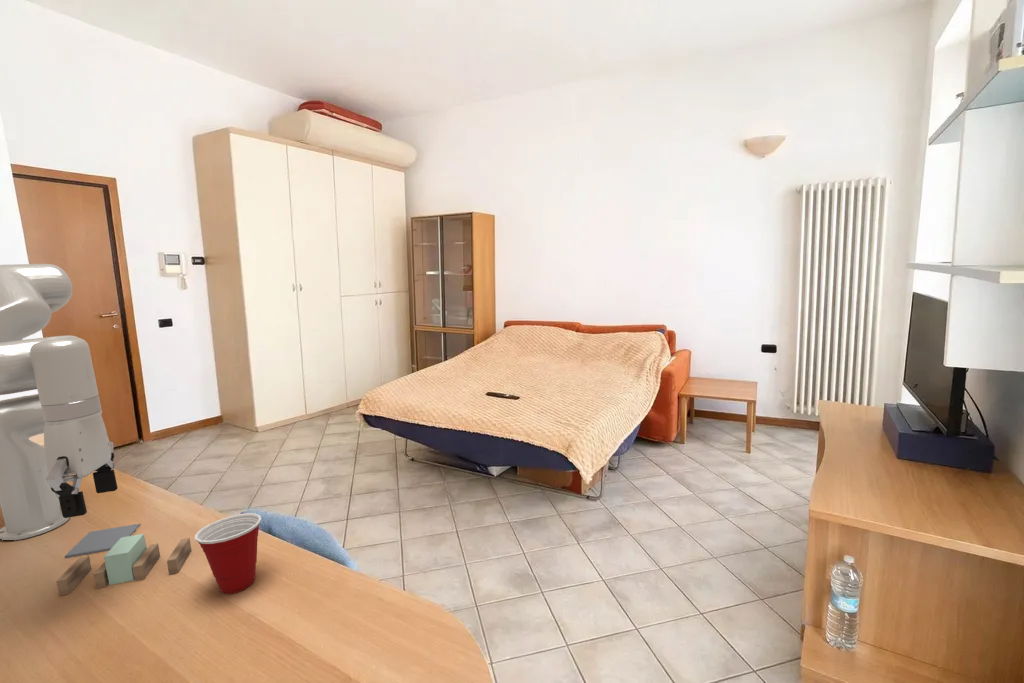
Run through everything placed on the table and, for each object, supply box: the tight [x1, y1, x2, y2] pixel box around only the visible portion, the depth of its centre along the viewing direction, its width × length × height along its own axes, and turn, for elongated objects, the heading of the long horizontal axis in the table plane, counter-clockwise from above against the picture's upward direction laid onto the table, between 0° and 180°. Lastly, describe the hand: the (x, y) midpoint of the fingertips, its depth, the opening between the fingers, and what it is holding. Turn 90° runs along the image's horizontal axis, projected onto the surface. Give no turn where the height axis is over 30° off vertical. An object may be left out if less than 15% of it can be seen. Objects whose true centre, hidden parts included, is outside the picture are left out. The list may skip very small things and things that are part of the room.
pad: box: [64, 523, 141, 559], centre depth 110 cm, size 10×10×1 cm
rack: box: [56, 537, 193, 597], centre depth 98 cm, size 8×19×3 cm, turn 106°
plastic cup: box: [194, 512, 262, 595], centre depth 91 cm, size 11×11×12 cm
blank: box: [103, 533, 148, 586], centre depth 97 cm, size 7×4×6 cm, turn 16°
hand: (92, 503), depth 87 cm, fingers open, 9 cm apart
